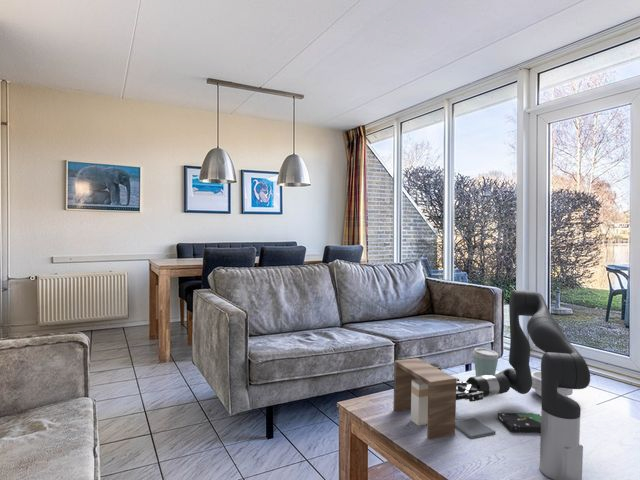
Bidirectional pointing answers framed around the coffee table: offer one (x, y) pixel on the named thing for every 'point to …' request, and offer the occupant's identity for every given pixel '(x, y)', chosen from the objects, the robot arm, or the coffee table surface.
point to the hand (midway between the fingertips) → (446, 392)
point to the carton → (419, 402)
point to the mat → (473, 428)
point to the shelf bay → (438, 394)
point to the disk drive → (521, 422)
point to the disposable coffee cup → (485, 361)
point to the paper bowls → (537, 385)
